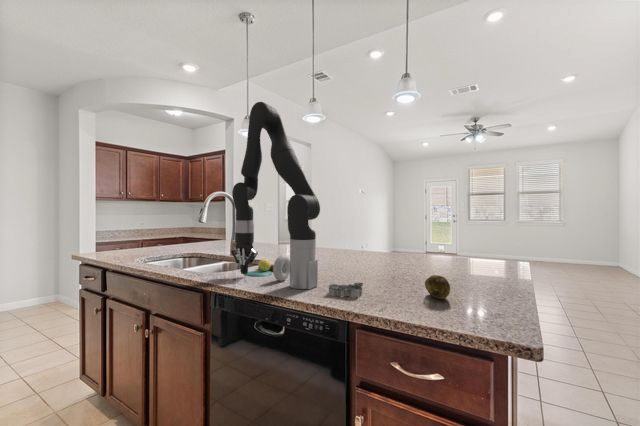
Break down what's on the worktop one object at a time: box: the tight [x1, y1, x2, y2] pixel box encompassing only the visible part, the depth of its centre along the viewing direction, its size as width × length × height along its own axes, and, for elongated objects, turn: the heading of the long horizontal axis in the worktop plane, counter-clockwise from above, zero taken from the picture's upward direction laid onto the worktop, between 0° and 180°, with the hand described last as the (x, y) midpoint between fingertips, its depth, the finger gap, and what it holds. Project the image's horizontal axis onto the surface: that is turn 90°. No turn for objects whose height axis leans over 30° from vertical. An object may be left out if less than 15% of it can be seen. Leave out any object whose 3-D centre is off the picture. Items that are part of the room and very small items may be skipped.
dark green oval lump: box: [424, 274, 451, 300], centre depth 97 cm, size 8×13×8 cm, turn 149°
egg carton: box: [328, 282, 364, 299], centre depth 101 cm, size 11×8×4 cm
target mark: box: [244, 270, 273, 277], centre depth 134 cm, size 12×12×1 cm
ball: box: [257, 258, 272, 271], centre depth 139 cm, size 6×6×6 cm
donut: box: [272, 254, 290, 282], centre depth 121 cm, size 10×4×10 cm, turn 155°
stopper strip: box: [257, 264, 274, 272], centre depth 142 cm, size 14×2×2 cm, turn 61°
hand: (244, 273), depth 126 cm, fingers closed
